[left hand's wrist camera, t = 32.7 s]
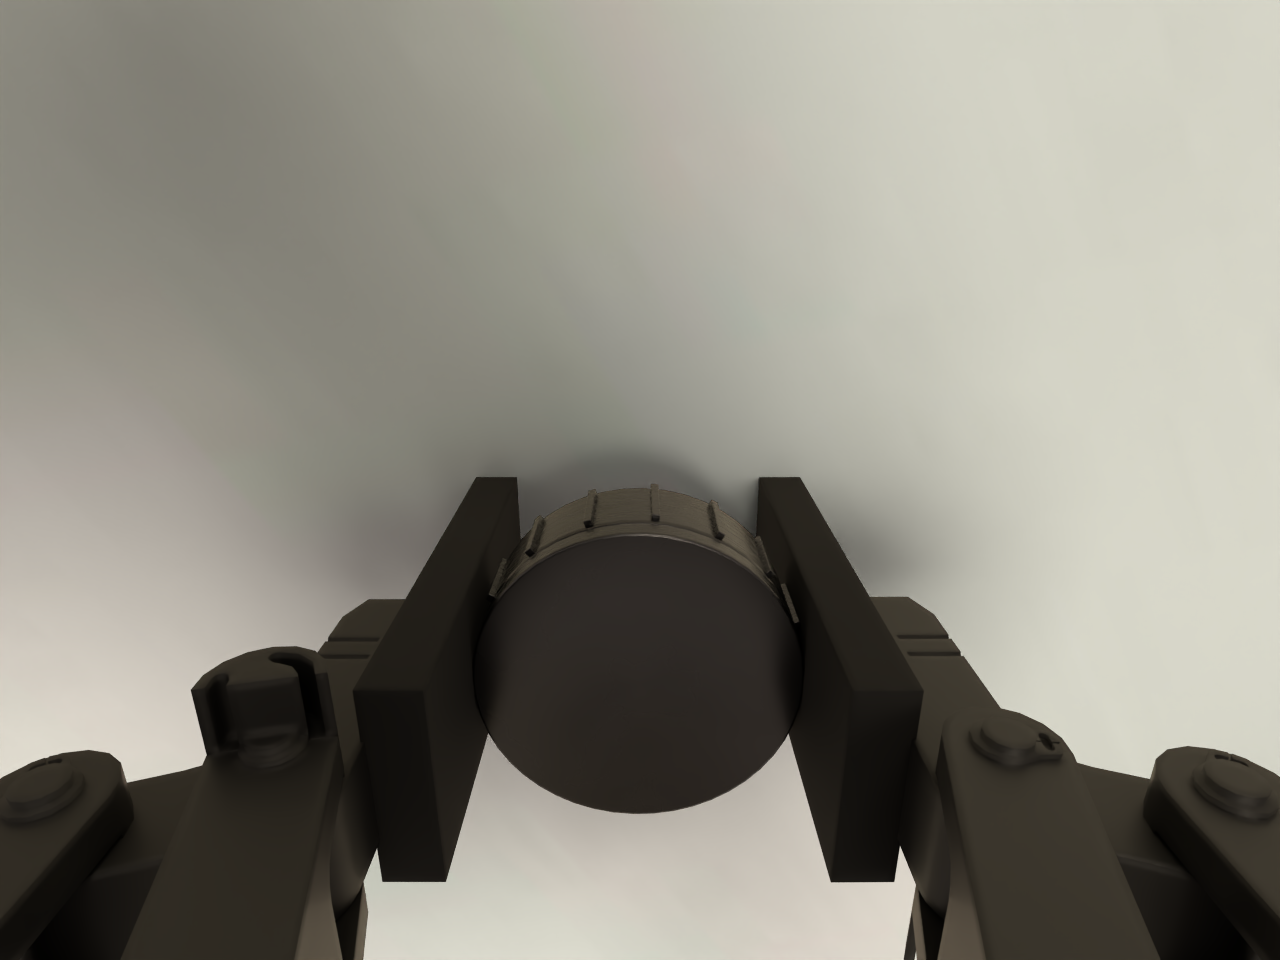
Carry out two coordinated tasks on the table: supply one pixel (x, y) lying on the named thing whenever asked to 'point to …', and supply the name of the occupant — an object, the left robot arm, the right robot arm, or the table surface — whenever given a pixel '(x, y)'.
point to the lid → (638, 653)
